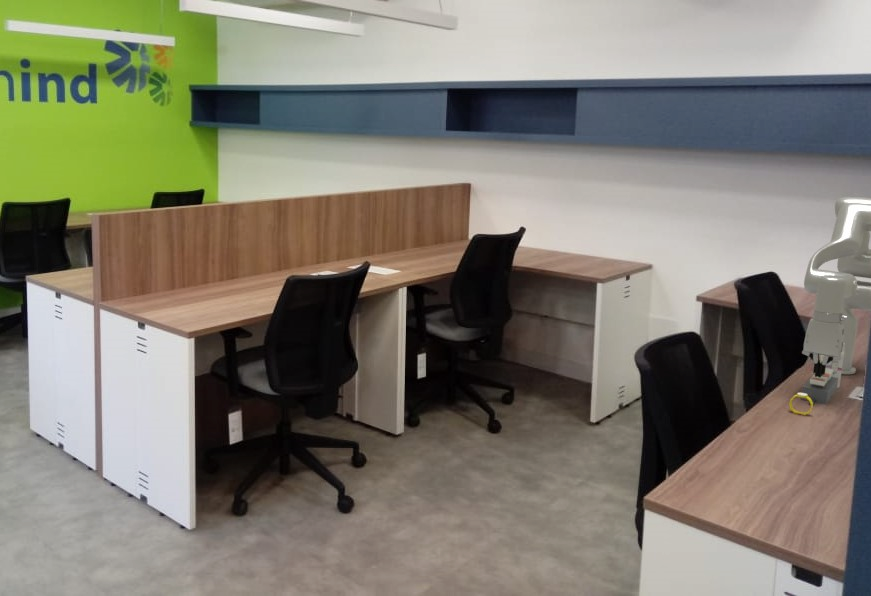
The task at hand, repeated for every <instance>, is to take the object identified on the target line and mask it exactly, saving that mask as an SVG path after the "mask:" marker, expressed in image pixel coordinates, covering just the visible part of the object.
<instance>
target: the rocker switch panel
mask: <svg viewBox="0 0 871 596" xmlns="http://www.w3.org/2000/svg"><path fill="white" fill-rule="evenodd" d="M813 375H815V373H813V374H812V376H813ZM810 379H811V377H809V379H808V380H807V381H806V382H805V383H804V384H803V386H802V387H801V393H806V394H807V395H808V397H809V398H810V399H811V400H812V402H813V405H814V404H815V403H817V404H822V405H827V404H828V403H829V401H830V400H831V398H833V396H834V394H835V393H836V392H835V391H837V389H838V388H837V383H838V378H835V377H831V378H830V380H829V381H827V383H826V384H825V385H824V386H821V385H816V384H811V383H810ZM800 400H801V401H802V400H803V401H806V400H808V399H806V398H802V397H800ZM808 406H811V404H810V402H809V400H808Z"/></svg>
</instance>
